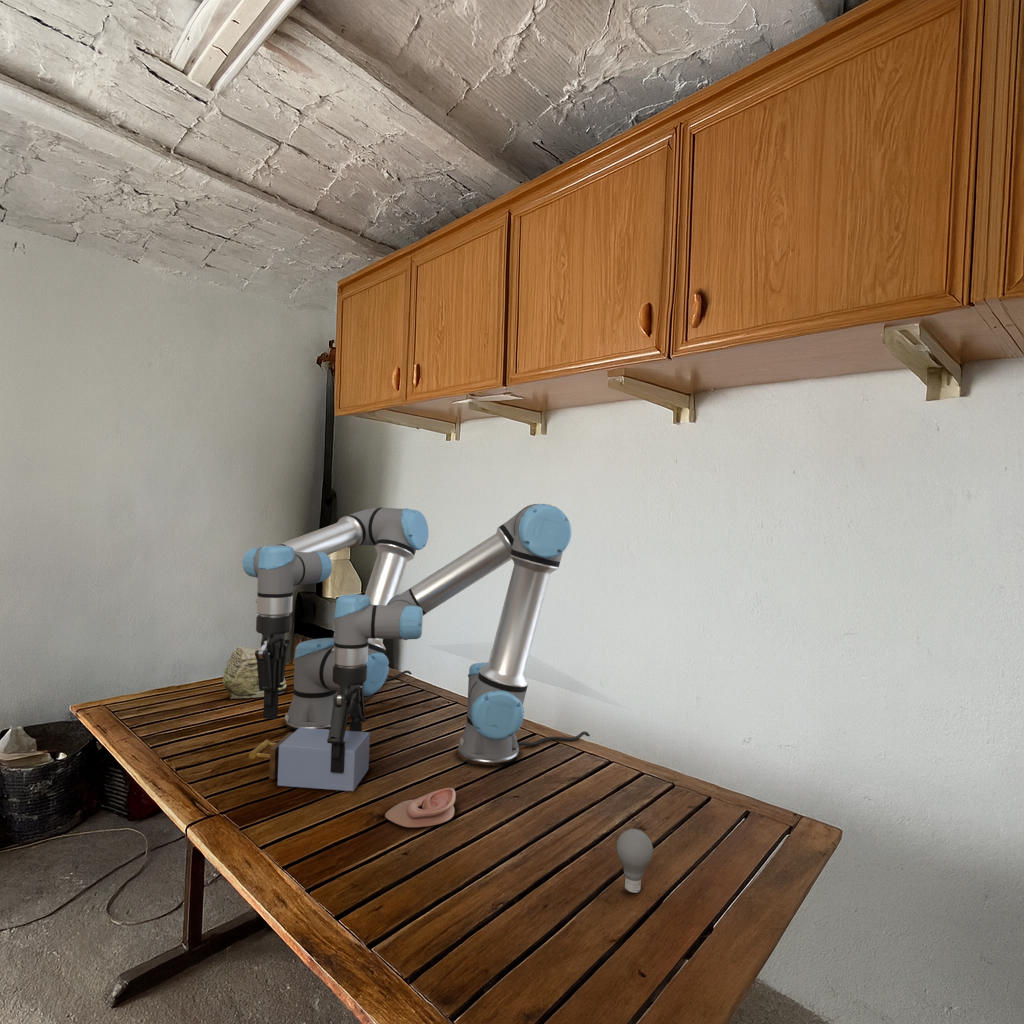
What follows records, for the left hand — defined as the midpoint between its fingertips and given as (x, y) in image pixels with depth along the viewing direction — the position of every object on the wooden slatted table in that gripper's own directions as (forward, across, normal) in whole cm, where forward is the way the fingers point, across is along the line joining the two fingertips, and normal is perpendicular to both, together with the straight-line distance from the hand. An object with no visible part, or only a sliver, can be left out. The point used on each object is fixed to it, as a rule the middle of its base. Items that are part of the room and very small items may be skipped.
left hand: (270, 717), depth 144 cm
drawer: (+12, 0, +7) cm, 14 cm away
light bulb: (+13, +33, +78) cm, 86 cm away
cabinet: (+13, 0, +13) cm, 18 cm away
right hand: (+9, 0, +18) cm, 20 cm away
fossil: (+13, -52, -29) cm, 61 cm away
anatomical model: (+13, +13, +38) cm, 42 cm away
